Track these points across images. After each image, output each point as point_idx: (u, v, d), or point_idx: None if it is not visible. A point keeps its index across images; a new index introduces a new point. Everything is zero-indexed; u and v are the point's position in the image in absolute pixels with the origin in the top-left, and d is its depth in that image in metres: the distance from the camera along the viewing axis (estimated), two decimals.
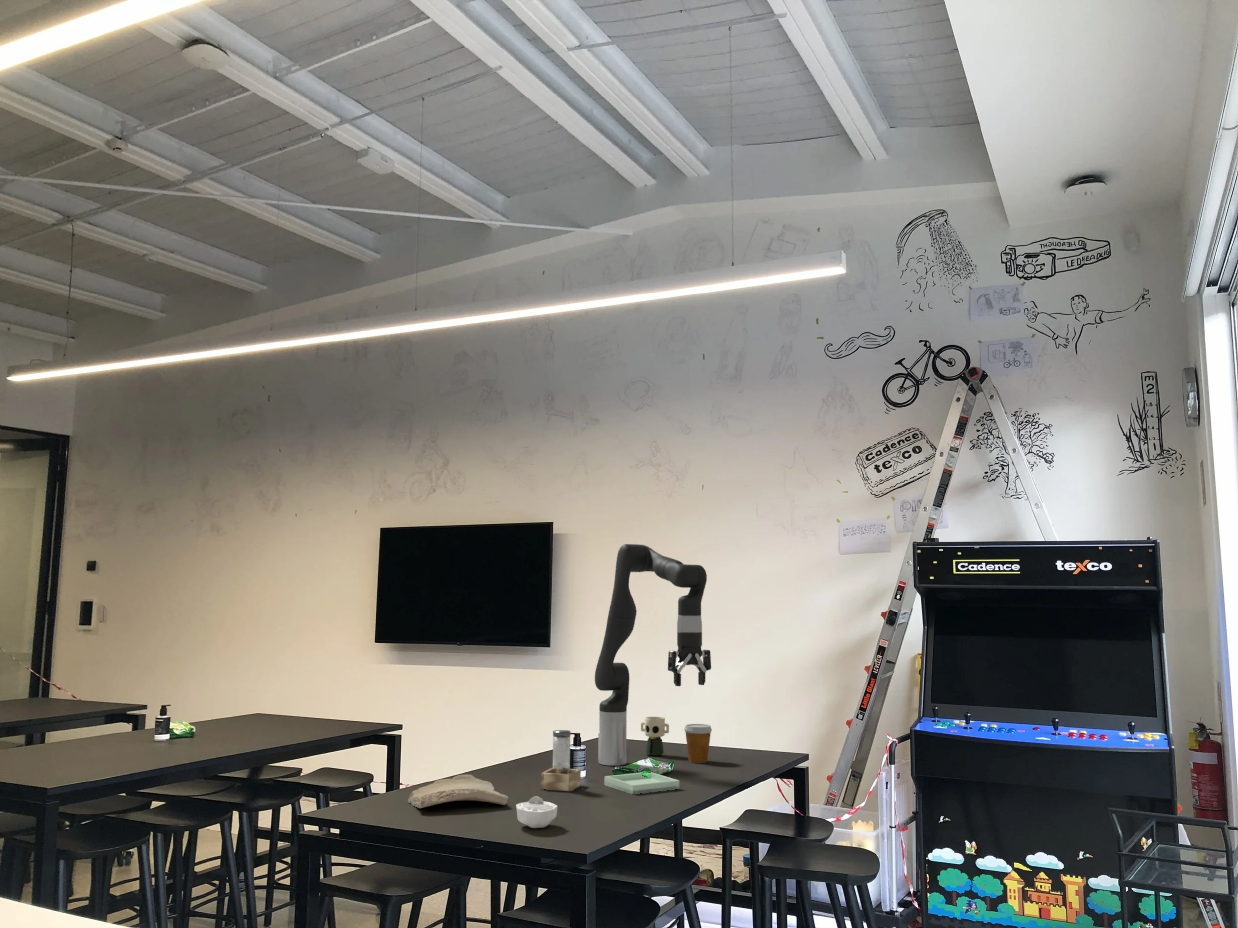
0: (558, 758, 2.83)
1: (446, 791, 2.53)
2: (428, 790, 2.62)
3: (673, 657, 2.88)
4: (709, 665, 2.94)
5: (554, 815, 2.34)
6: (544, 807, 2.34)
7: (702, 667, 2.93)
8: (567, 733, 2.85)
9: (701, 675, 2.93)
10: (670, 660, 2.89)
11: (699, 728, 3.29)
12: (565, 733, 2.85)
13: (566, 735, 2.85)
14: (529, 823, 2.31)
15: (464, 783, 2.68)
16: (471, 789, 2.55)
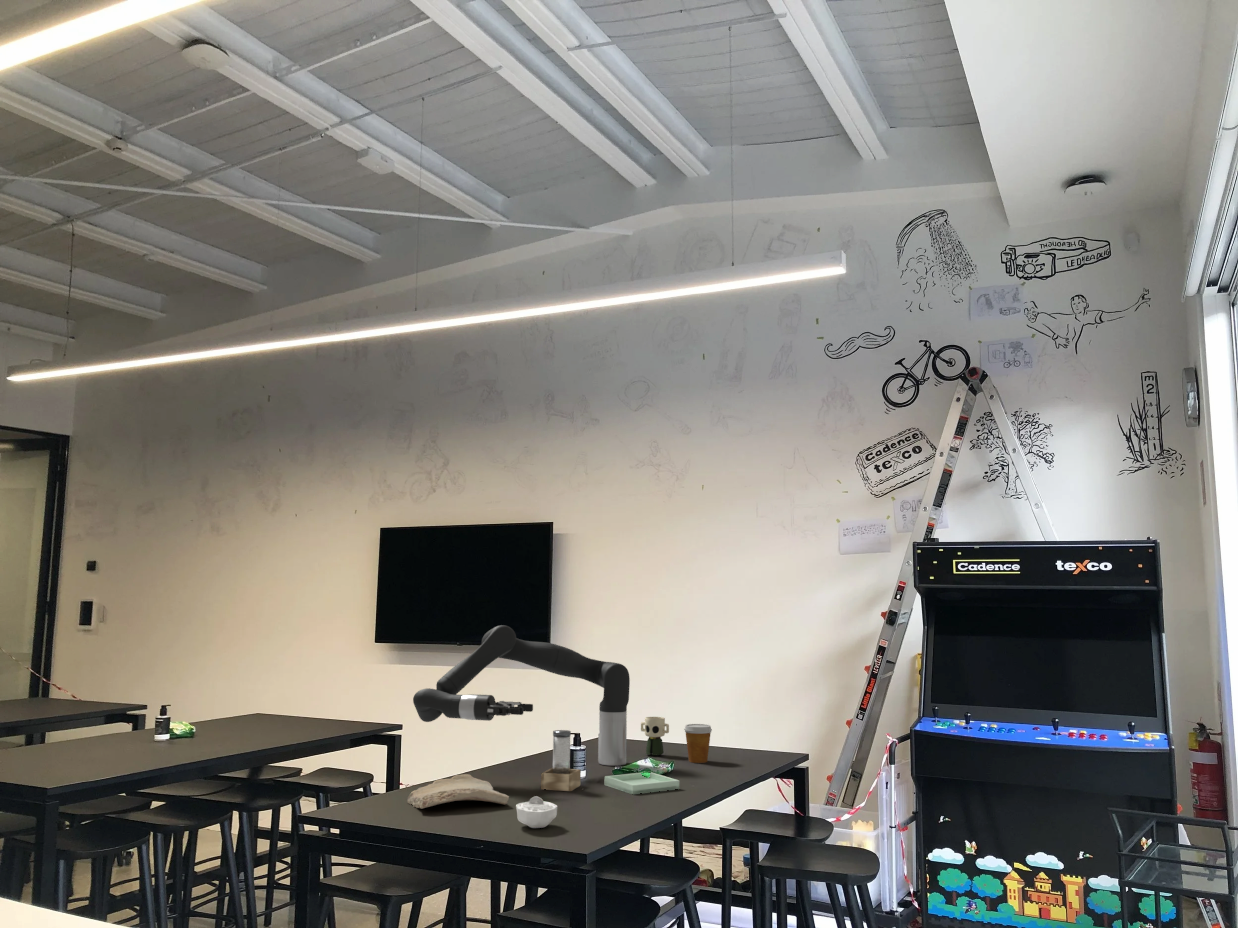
0: (558, 758, 2.83)
1: (447, 791, 2.53)
2: (428, 790, 2.62)
3: None
4: (501, 715, 2.85)
5: (554, 815, 2.34)
6: (544, 807, 2.34)
7: None
8: (567, 733, 2.85)
9: None
10: None
11: (699, 728, 3.29)
12: (565, 733, 2.85)
13: (566, 735, 2.85)
14: (529, 823, 2.31)
15: (463, 783, 2.68)
16: (472, 789, 2.55)
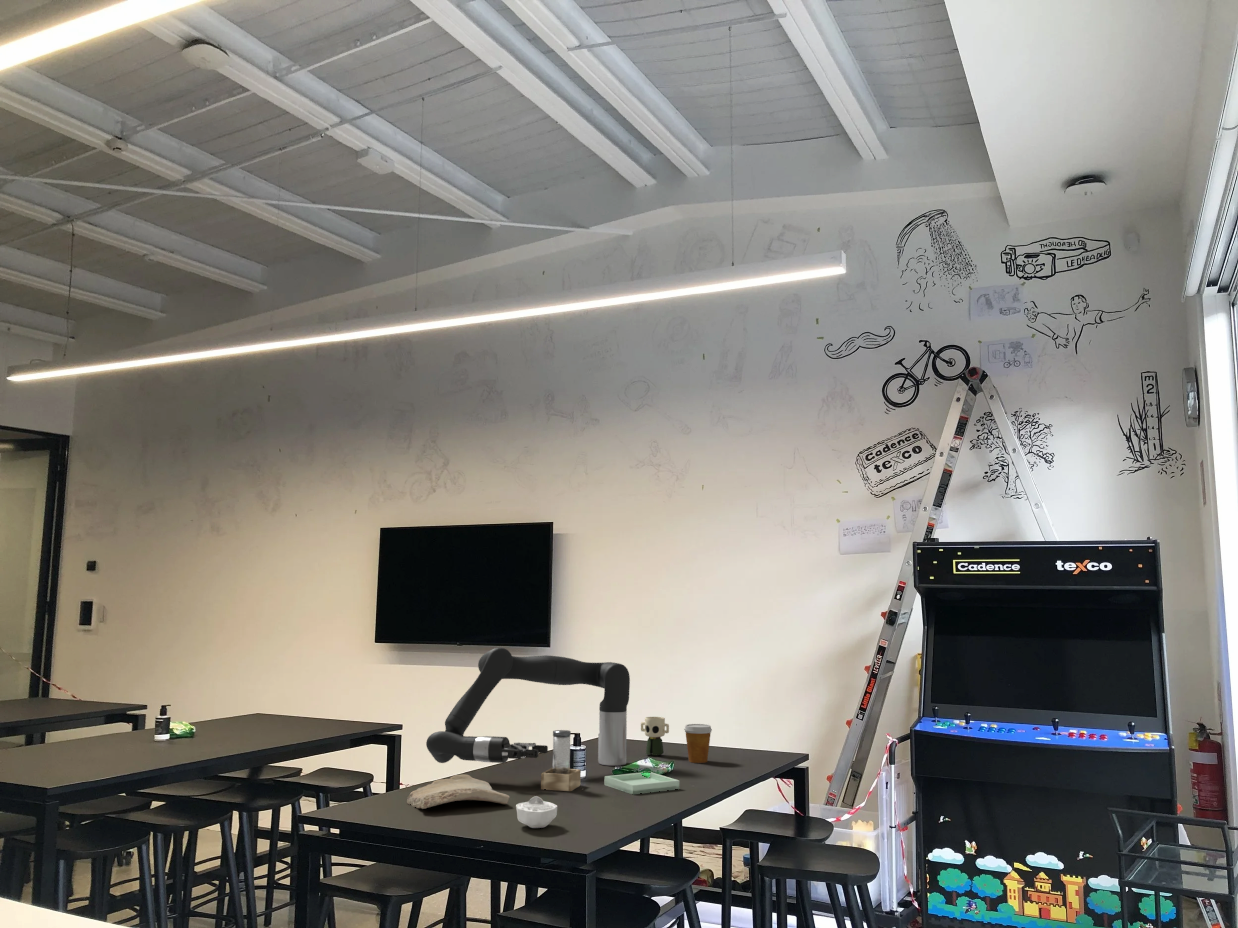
0: (558, 758, 2.83)
1: (448, 791, 2.53)
2: (427, 790, 2.61)
3: None
4: None
5: (554, 815, 2.34)
6: (544, 807, 2.34)
7: None
8: (567, 733, 2.85)
9: None
10: None
11: (699, 728, 3.29)
12: (565, 733, 2.85)
13: (566, 735, 2.85)
14: (529, 823, 2.31)
15: (462, 783, 2.68)
16: (473, 789, 2.55)
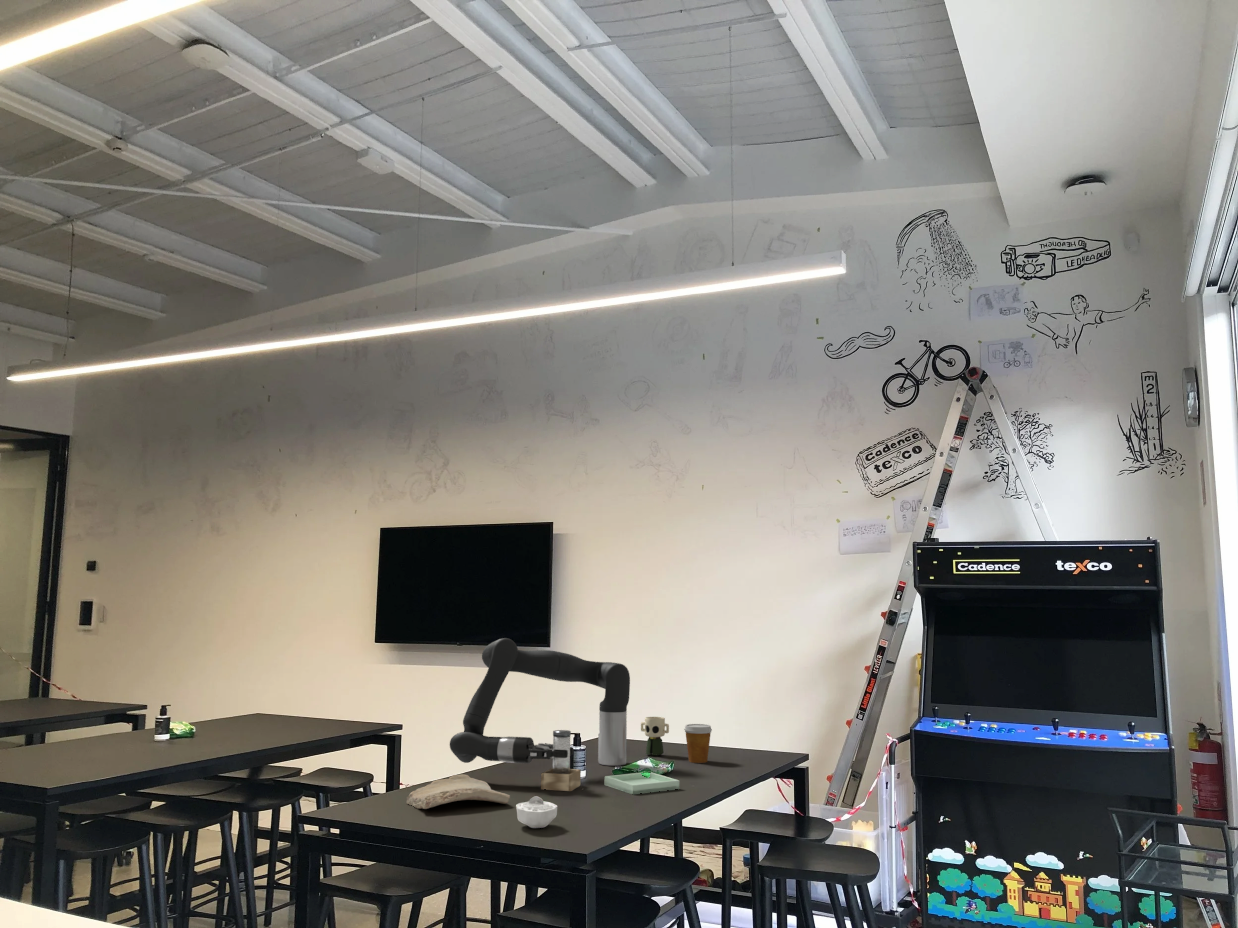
0: (558, 758, 2.83)
1: (449, 791, 2.53)
2: (427, 791, 2.61)
3: None
4: None
5: (554, 815, 2.34)
6: (544, 807, 2.34)
7: None
8: (567, 733, 2.85)
9: None
10: None
11: (699, 728, 3.29)
12: (565, 733, 2.85)
13: (566, 735, 2.85)
14: (529, 823, 2.31)
15: (461, 783, 2.68)
16: (474, 788, 2.55)
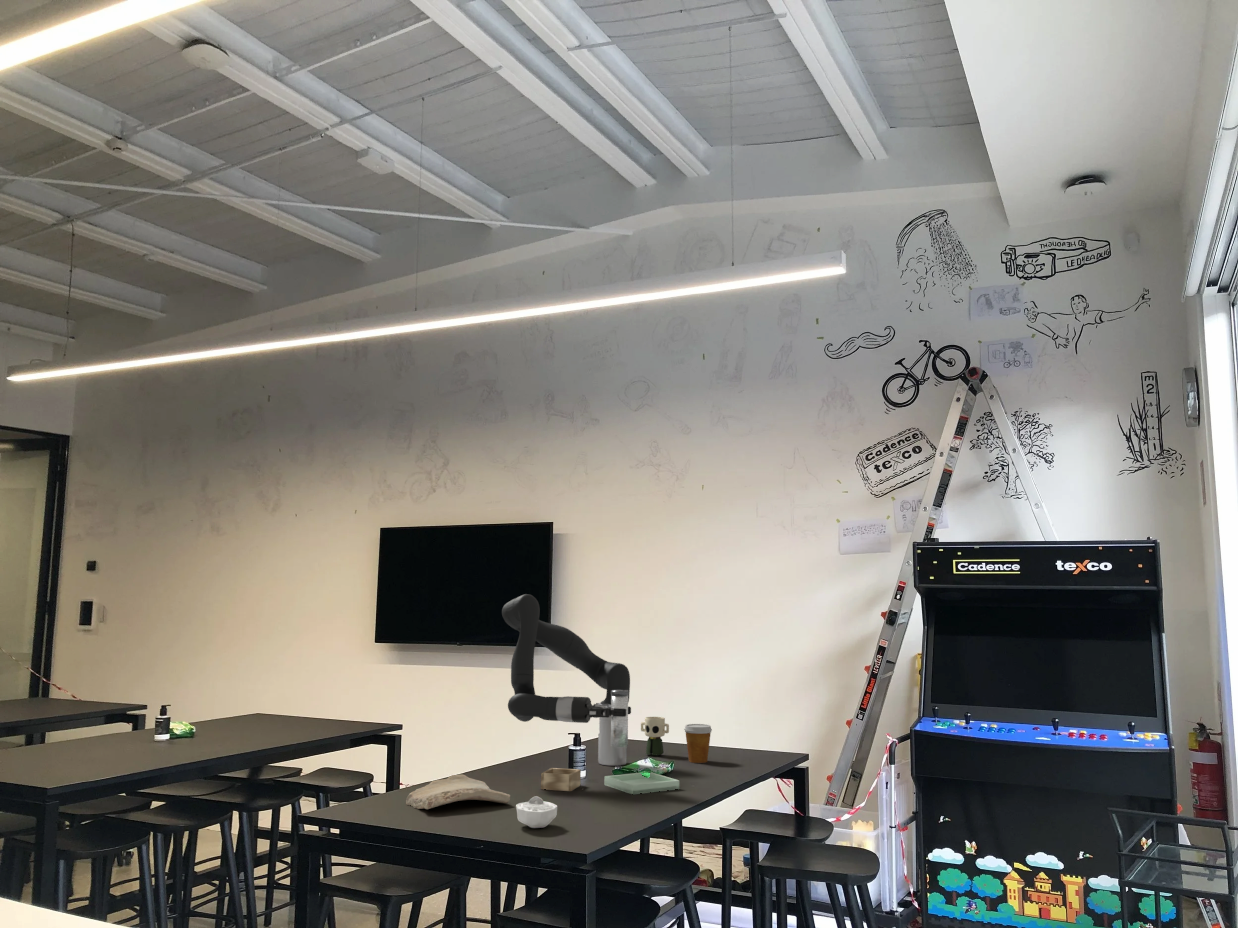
0: (617, 717, 2.86)
1: (451, 791, 2.53)
2: (426, 791, 2.61)
3: None
4: (605, 716, 2.84)
5: (554, 815, 2.34)
6: (544, 807, 2.34)
7: None
8: (625, 692, 2.87)
9: None
10: None
11: (699, 728, 3.29)
12: (623, 692, 2.87)
13: (624, 694, 2.87)
14: (529, 823, 2.31)
15: (460, 783, 2.68)
16: (475, 788, 2.56)
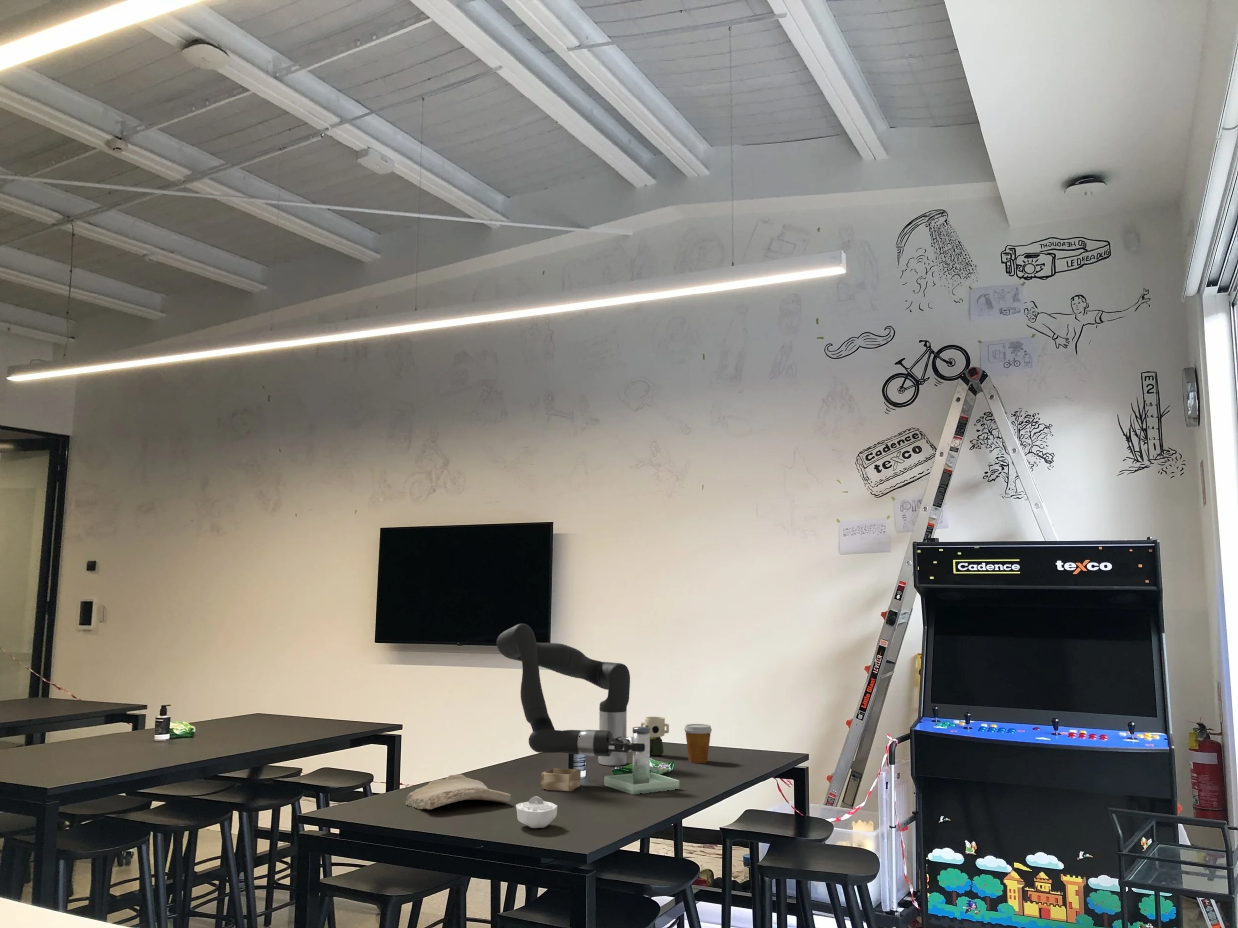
0: (639, 755, 2.85)
1: (452, 791, 2.53)
2: (426, 791, 2.60)
3: None
4: (623, 751, 2.82)
5: (554, 815, 2.34)
6: (544, 807, 2.34)
7: None
8: (647, 729, 2.86)
9: None
10: None
11: (699, 728, 3.29)
12: (645, 729, 2.86)
13: (646, 731, 2.86)
14: (529, 823, 2.31)
15: (458, 783, 2.68)
16: (476, 788, 2.56)
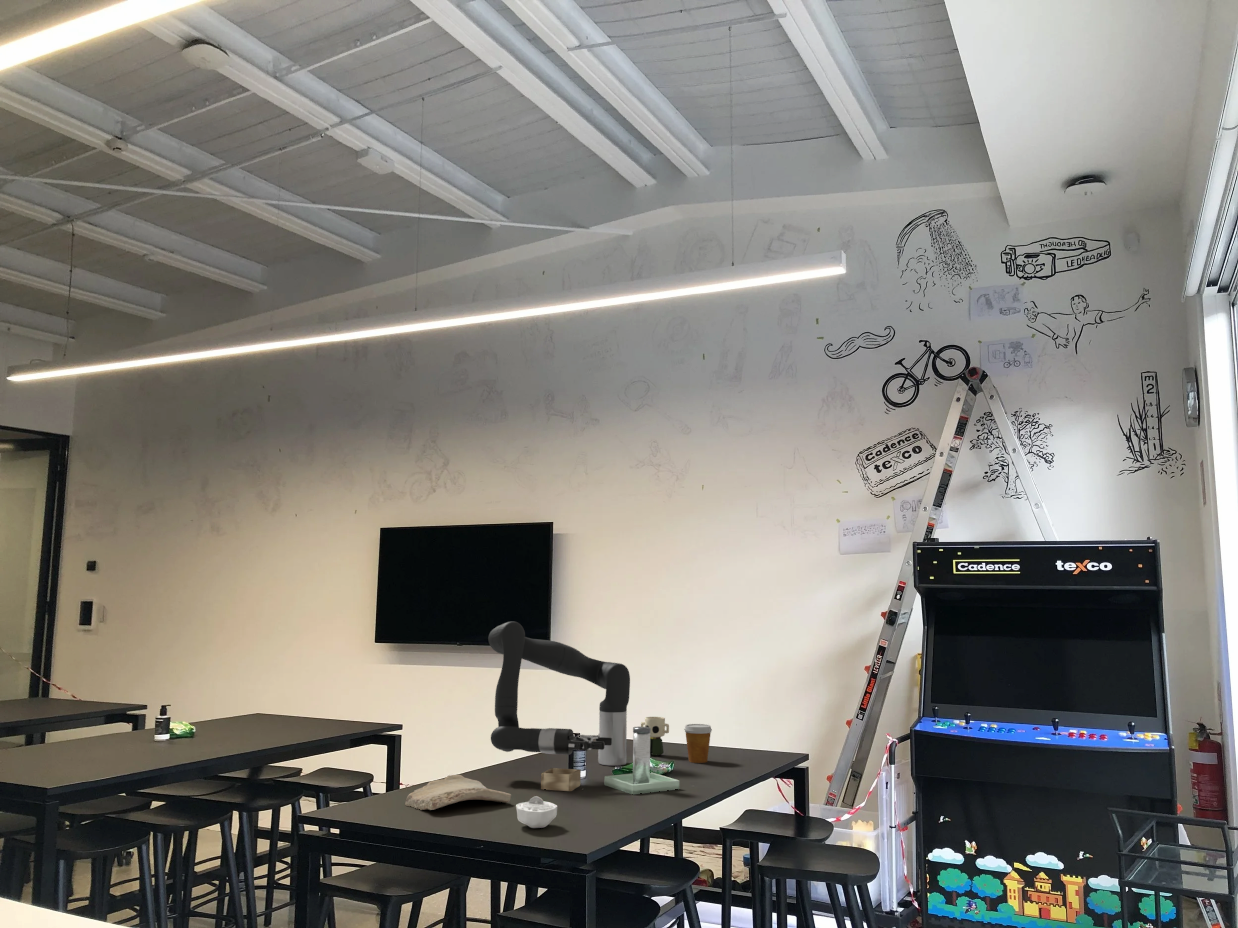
0: (639, 755, 2.85)
1: (453, 791, 2.53)
2: (426, 792, 2.60)
3: None
4: (583, 749, 2.85)
5: (554, 815, 2.34)
6: (544, 807, 2.34)
7: None
8: (648, 730, 2.86)
9: None
10: None
11: (699, 728, 3.29)
12: (646, 730, 2.86)
13: (647, 732, 2.86)
14: (529, 823, 2.31)
15: (457, 783, 2.68)
16: (477, 788, 2.56)
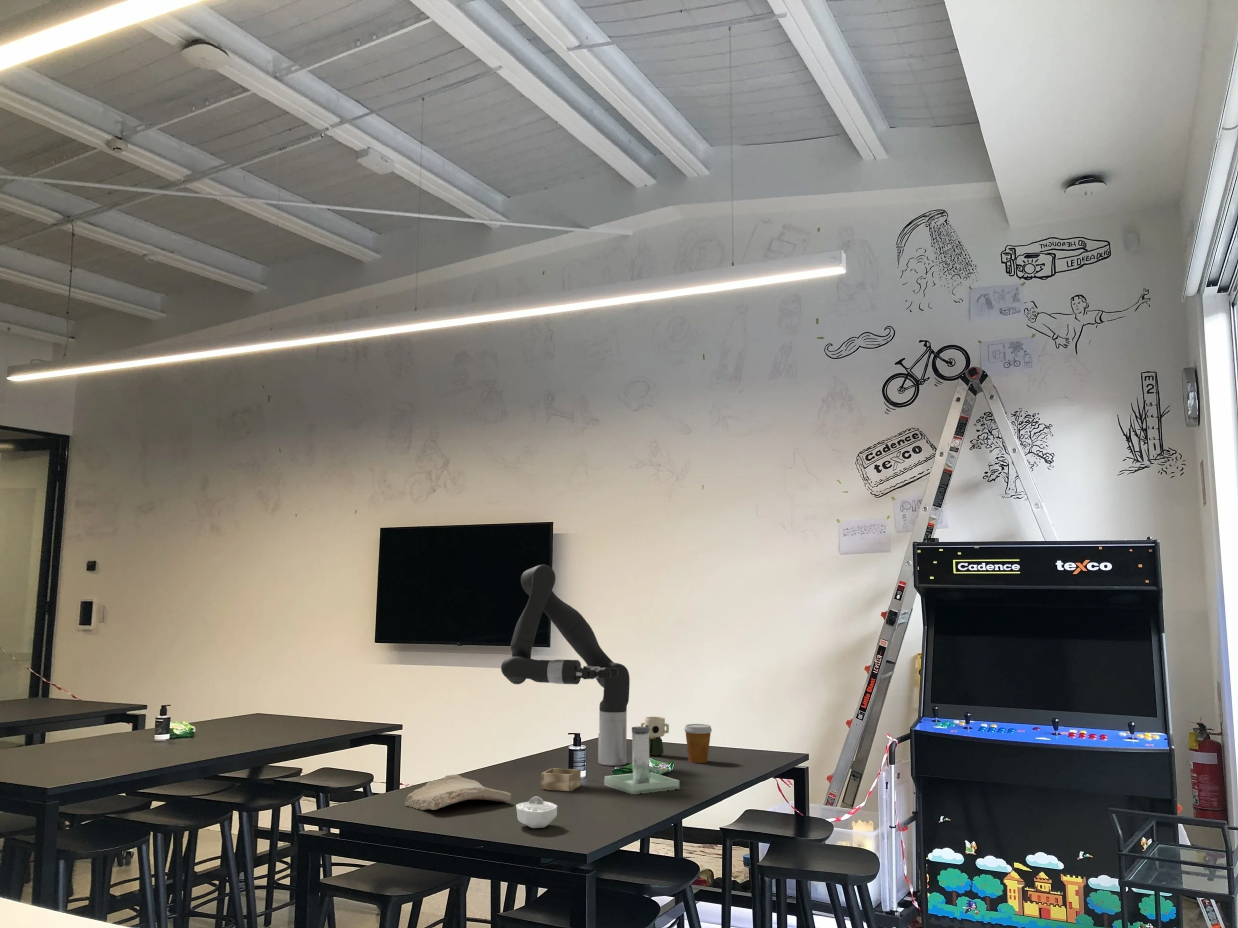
0: (639, 755, 2.85)
1: (455, 791, 2.53)
2: (426, 792, 2.59)
3: None
4: (590, 678, 2.96)
5: (554, 815, 2.34)
6: (544, 807, 2.34)
7: None
8: (646, 729, 2.86)
9: None
10: None
11: (699, 728, 3.29)
12: (644, 729, 2.86)
13: (645, 731, 2.86)
14: (529, 823, 2.31)
15: (456, 783, 2.68)
16: (478, 788, 2.57)
